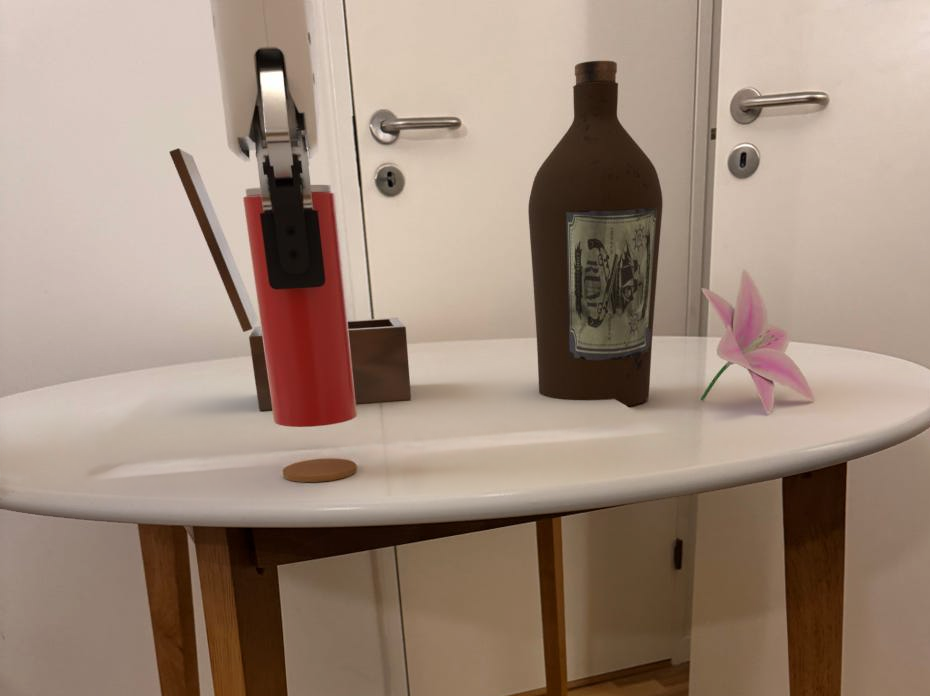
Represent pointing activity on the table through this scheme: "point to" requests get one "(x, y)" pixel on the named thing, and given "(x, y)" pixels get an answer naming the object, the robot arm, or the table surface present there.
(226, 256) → the lid
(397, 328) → the dark wooden box
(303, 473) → the pad
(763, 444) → the table surface
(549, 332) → the brown liquor bottle
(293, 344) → the can
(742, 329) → the lily
